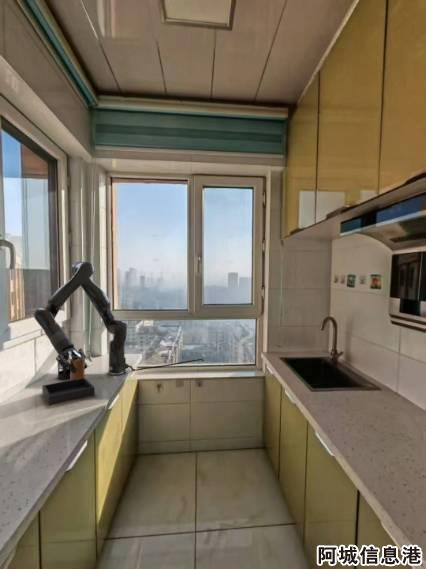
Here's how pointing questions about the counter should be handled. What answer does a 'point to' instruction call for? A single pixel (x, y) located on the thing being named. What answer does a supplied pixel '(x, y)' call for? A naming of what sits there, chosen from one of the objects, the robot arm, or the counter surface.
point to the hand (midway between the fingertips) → (80, 370)
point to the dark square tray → (67, 391)
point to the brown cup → (78, 368)
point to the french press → (63, 372)
